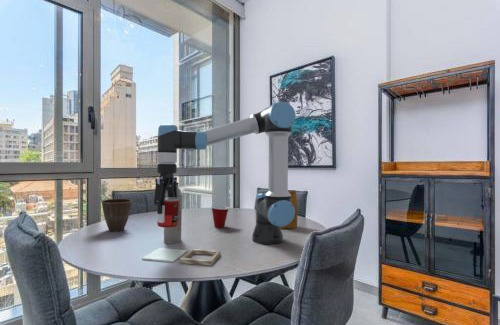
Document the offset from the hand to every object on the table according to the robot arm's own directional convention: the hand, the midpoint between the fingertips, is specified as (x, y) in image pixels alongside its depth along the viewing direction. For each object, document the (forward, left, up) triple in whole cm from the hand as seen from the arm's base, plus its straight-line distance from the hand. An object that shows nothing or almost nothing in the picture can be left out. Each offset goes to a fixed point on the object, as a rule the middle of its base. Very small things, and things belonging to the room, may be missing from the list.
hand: (166, 219), depth 114 cm
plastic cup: (-6, -54, -15) cm, 56 cm away
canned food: (-1, 0, -2) cm, 3 cm away
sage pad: (0, 0, -14) cm, 14 cm away
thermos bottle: (+7, -20, -15) cm, 26 cm away
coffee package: (-44, -63, -15) cm, 78 cm away
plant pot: (+46, -32, -15) cm, 58 cm away
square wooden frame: (-15, 0, -14) cm, 21 cm away
